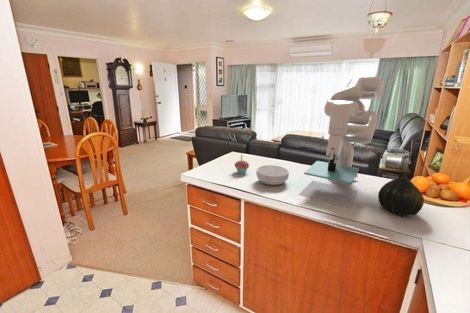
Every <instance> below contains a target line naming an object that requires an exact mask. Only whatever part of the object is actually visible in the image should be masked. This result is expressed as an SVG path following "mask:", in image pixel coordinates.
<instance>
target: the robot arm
mask: <svg viewBox="0 0 470 313" xmlns="http://www.w3.org/2000/svg"><path fill="white" fill-rule="evenodd" d="M382 93H383V82H382V80H381V78H380V77H379V76H377V75H358V76H353V77H352V78H351V79H350V80H349V82H348V83H347V86H346V87H345V88H344V89H340V90H339V91H337V92H334V93H332V94H331V95H330V96H329V98H328V99H327V101H326V103H325V104H324V110H323V111H324V114H325V116H327V117H329V123H328V132H327V134H328V135H329V137H328V141H327V147H326V153H325V155H326V157H328V162H327V163H328V171H332V172H335V169H336V159H337V160H338V165H344V166H349V167H353V166H352V165H353V160H354V155H355V154H354V153H355V150H354V147H353V145H352V144H351V143H353V144H363V145H367V144H370V143H371V141H373V137H374V133H375V130H376V127H377V122H378V114H377V112H376V111H373V110H366V107H365V105H364V104H363V102H362V101H361V100H378V99H380V98H381V97H382V95H383V94H382ZM358 177H359V176H358V174H357V175H356V177H355V178H358ZM327 180H328V181H329V182H331V183H334V184H337V185H349V184H348V183H344V182H339V181H334V180H329V179H327Z"/></svg>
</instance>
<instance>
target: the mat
mask: <svg viewBox="0 0 470 313" xmlns="http://www.w3.org/2000/svg"><path fill="white" fill-rule="evenodd" d="M357 193H358V190H356V189H352V188H347V187H342V186H339V185H334V184H329V183H324V182H321V181H315V180H312V181H311V182H310V183H309V184H308V185H307V186H305V188H303V190H302V191H301V192H299V194H298V196H301V197H305V198H309V199H312V200H317V201H320V202H324V203H328V204H332V205H335V206H340V207H343V208H348V209H351V207H352V205H353V202H354V200H355V198H356V195H357Z"/></svg>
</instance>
